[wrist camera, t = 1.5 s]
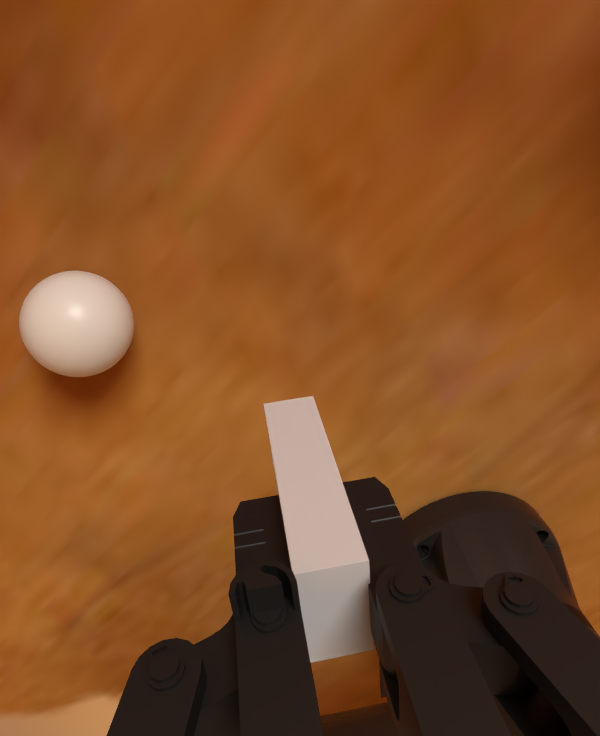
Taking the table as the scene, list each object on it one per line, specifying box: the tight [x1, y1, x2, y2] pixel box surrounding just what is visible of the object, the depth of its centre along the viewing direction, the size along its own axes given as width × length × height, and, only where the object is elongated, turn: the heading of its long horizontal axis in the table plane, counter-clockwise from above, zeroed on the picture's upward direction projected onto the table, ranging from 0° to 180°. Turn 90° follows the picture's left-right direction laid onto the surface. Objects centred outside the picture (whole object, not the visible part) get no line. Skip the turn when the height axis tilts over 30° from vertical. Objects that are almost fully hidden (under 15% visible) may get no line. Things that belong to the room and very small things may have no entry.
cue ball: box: [19, 271, 134, 377], centre depth 28 cm, size 6×6×6 cm
